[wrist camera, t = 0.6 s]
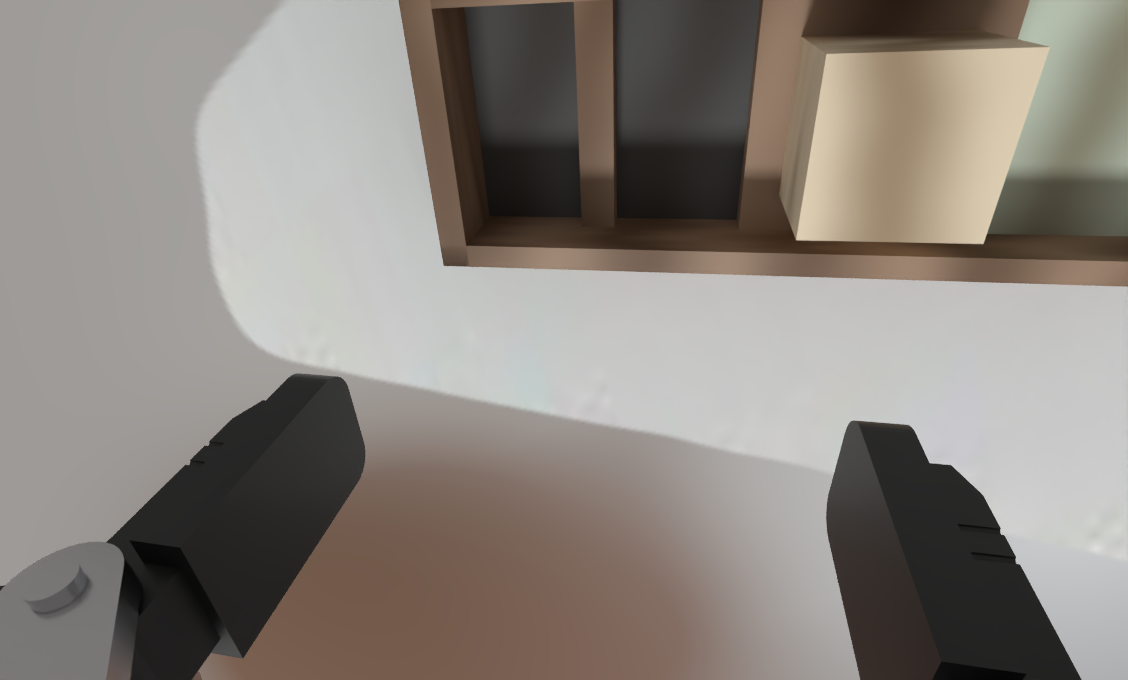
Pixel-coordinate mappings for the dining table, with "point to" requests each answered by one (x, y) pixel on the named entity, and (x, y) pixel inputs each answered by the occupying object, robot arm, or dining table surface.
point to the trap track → (738, 137)
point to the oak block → (904, 134)
